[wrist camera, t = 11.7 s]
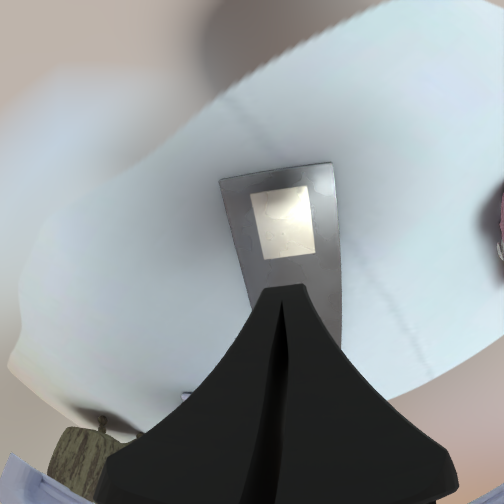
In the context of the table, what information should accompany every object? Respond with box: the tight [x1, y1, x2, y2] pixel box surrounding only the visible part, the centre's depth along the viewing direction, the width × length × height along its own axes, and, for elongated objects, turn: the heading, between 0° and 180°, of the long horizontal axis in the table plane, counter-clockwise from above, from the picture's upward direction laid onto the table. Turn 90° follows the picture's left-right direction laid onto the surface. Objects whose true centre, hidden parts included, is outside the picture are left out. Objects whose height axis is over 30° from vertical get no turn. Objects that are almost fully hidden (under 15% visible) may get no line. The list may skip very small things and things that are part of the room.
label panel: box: [219, 162, 342, 349], centre depth 17 cm, size 16×6×1 cm, turn 12°
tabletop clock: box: [47, 416, 144, 504], centre depth 25 cm, size 14×9×25 cm, turn 112°
